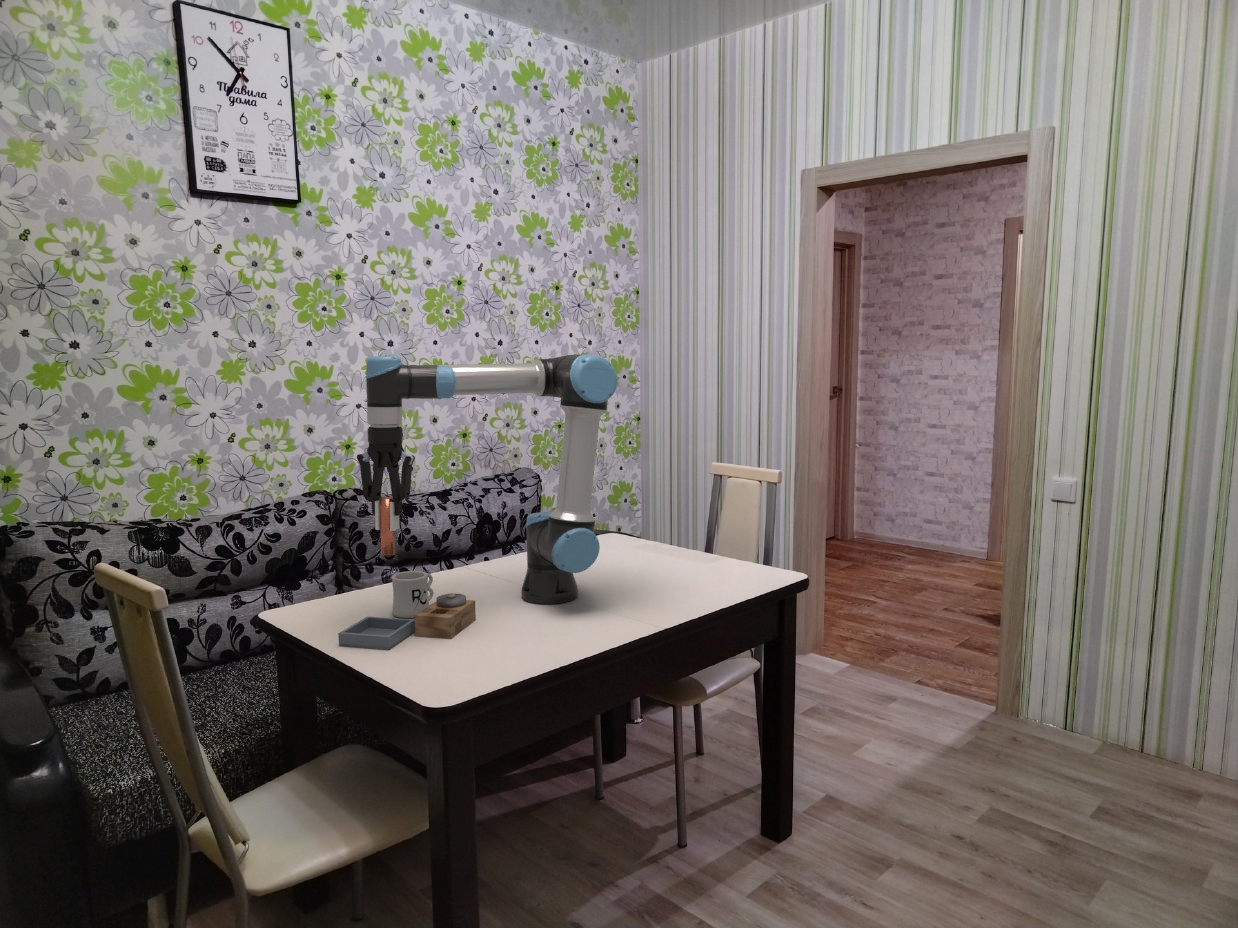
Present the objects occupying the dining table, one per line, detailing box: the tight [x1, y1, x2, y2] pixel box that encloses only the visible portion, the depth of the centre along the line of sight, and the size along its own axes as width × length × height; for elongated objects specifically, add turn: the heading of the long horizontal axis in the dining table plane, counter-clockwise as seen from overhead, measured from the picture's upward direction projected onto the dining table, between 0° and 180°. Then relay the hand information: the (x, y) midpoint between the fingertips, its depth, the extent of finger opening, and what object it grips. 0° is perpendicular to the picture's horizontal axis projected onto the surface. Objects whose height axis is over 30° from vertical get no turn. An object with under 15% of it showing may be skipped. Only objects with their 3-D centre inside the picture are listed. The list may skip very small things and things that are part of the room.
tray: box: [337, 615, 415, 651], centre depth 190 cm, size 12×12×3 cm
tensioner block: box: [414, 592, 477, 640], centre depth 197 cm, size 9×14×7 cm, turn 167°
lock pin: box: [380, 496, 396, 557], centre depth 187 cm, size 3×3×13 cm
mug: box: [390, 570, 435, 619], centre depth 209 cm, size 12×9×10 cm
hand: (387, 528), depth 187 cm, fingers closed on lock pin, 3 cm apart
